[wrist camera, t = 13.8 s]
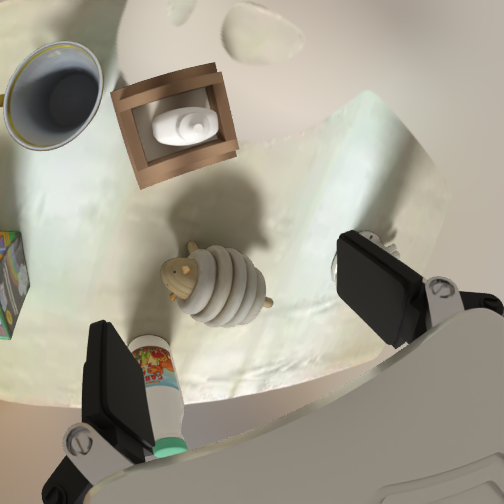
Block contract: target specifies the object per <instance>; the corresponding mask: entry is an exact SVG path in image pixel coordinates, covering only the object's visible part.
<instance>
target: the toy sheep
mask: <svg viewBox="0 0 504 504" xmlns="http://www.w3.org/2000/svg"><path fill="white" fill-rule="evenodd" d="M187 248H188V250H189V252H190V255H189V257H188V258H183V257H179V258H172V259H170V260H168V261H166V262H165V263H164V264H163V265H162V268H161V278H162V281H163V283H164V284H165V286H166V287H167V288H168V289H169V290H170V291H171V292H172V293H171V294H170V296H169V297H170V299H171V301H172V302H173V301H175V299H176V298H177V303H178V306H179V308H180V309H181V310H182V311H183V312H184V313H186V314H190V316H191V317H192V318H193V319H195V320H196V321H198V322H204V323H205V324H206V325H207V326H209V327H220V326H221V327H224V328H230V327H234V326H236V325H245V324H248V323H250V322H251V321H252V320H254V319H255V318H256V316H257V315H258V314H259V312H260V310H261V308H262V307H266V308H270V307H272V305H273V300H272V299H271V298H268V297H265V296H266V285H265V280H264V277H263V275H262V273H261V272H260V271H259V270H258V269H257V268H255V267H254V264H253V263H252V261H251V260H250V259H249V258H248V257H246V256H244V255H241V254H240V253H239V252H238V251H237V250H235V249H233V248H223V247H222V246H218V245H214V246H210V247H208V248H206V249H205V250H204V249H198V247H197V245H196V243H195V242H194V241H190V242H189V243H188V244H187Z"/></svg>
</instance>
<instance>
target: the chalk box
mask: <svg viewBox="0 0 504 504" xmlns="http://www.w3.org/2000/svg"><path fill="white" fill-rule="evenodd" d="M29 288H30V285H29V280H28V275H27V270H26V265H25V260H24V253H23V248H22V241H21V234H20V232H0V339H4V340H11V338H12V334H13V331H14V328H15V325H16V322H17V319H18V316H19V313H20V310H21V308H22V305H23V302H24V300H25V297H26V295H27V292H28V290H29Z"/></svg>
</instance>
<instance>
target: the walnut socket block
mask: <svg viewBox="0 0 504 504" xmlns="http://www.w3.org/2000/svg"><path fill="white" fill-rule="evenodd" d="M110 94H111V98H112V102H113V105H114V109H115V112H116V116H117V119H118V123H119V126H120V130H121V133H122V136H123V139H124V143H125V146H126V149H127V152H128V155H129V158H130V161H131V164H132V167H133V170H134V173H135V176H136V179H137V182H138V185H139V187H140V190H141V189H144V188H146V187H149V186H152V185H154V184H157V183H160V182H162V181H165V180H168V179H170V178H173V177H176V176H179V175H182V174H184V173H187V172H190V171H193V170H196V169H199V168H202V167H205V166H208V165H211V164H215V163H218V162H221V161H224V160H227V159H231V158H234V157H237V155H236V151H235V150H238V149H239V146H238V142H237V138H236V134H235V129H234V124H233V120H232V116H231V111H230V107H229V102H228V98H227V94H226V89H225V85H224V81H223V76H222V72H217V69H216V65H215V62H214V63H209V64H204V65H199V66H195V67H191V68H186V69H182V70H178V71H175V72H171V73H167V74H164V75H160V76H157V77H154V78H151V79H147V80H144V81H141V82H138V83H135V84H132V85H129V86H127V87H124V88H121V89H118V90H116V91H113V92H111V93H110ZM185 107H201V108H206V109H210V110H213V111H214V112H216V114H217V117H218V132H217V133H216V134H215V135H213V136H212V137H210V138H208V139H206V140H204V141H202V142H199V143H195V144H191V145H183V146H176V145H168V144H163V143H160V142H159V141H157V140H156V138H155V137H154V135H153V129H152V120H153V119H154V118H155V117H157V116H158V115H160V114H162V113H164V112H167V111H170V110H174V109H179V108H185Z"/></svg>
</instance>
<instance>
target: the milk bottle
mask: <svg viewBox="0 0 504 504" xmlns="http://www.w3.org/2000/svg"><path fill="white" fill-rule="evenodd" d="M128 349H129V350H130V352H131V353H132V355H133V356H134V357H135V359H136V360H137V362H138V363H139V364H140V366H141V368H142V370H143V374H144V381H145V388H146V395H147V401H148V407H149V413H150V418H151V424H152V429H153V434H154V439H155V447H152V448H153V453H154V455H155V456H156V457H158V458H163V457H167V456H171V455H174V454H178V453H182V452H185V451H188V450H187V445H186V443H185V441H184V437H183V436H182V435H181V423H182V418H183V414H184V402H183V397H182V392H181V388H180V384H179V381H178V377H177V373H176V369H175V365H174V361H173V357H172V353H171V350H170V346H169V345H168V343H167V342H166V341H165V340H164V339H162V338H160V337H158V336H154V335H143V336H140V337H137V338H135V339H134V340H132V342H131V343H130V344H129V346H128Z"/></svg>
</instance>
